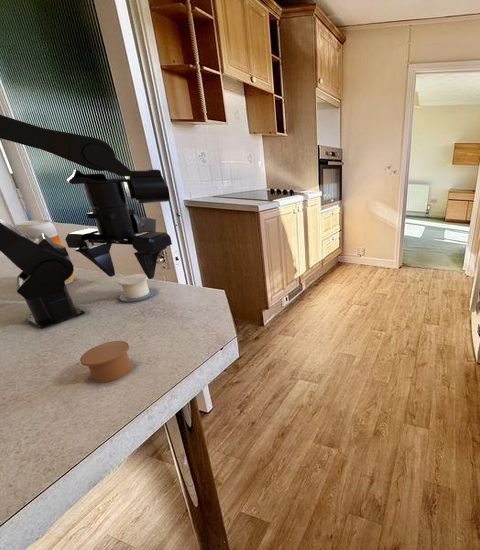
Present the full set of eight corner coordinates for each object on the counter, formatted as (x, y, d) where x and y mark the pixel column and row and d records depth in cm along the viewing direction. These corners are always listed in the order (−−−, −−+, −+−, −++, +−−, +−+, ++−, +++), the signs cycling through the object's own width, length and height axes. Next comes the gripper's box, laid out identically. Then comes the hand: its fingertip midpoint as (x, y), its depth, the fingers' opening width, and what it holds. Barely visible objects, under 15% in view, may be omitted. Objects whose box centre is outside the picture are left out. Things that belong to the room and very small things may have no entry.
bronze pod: (81, 378, 42) (71, 357, 41) (122, 356, 47) (115, 337, 45) (102, 390, 40) (92, 368, 39) (143, 366, 45) (136, 346, 43)
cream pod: (117, 296, 64) (111, 280, 63) (142, 287, 69) (138, 272, 68) (131, 301, 62) (126, 285, 61) (157, 291, 67) (153, 276, 65)
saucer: (114, 298, 64) (113, 296, 64) (144, 287, 70) (143, 285, 70) (131, 305, 62) (130, 302, 62) (161, 293, 67) (160, 291, 67)
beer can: (82, 279, 73) (59, 220, 67) (52, 289, 68) (24, 226, 62) (64, 276, 74) (41, 218, 69) (34, 285, 69) (5, 224, 63)
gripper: (180, 202, 65) (194, 266, 71) (103, 198, 66) (123, 262, 72) (141, 210, 55) (161, 285, 61) (49, 206, 56) (78, 280, 62)
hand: (131, 277), depth 64 cm, fingers open, 9 cm apart
